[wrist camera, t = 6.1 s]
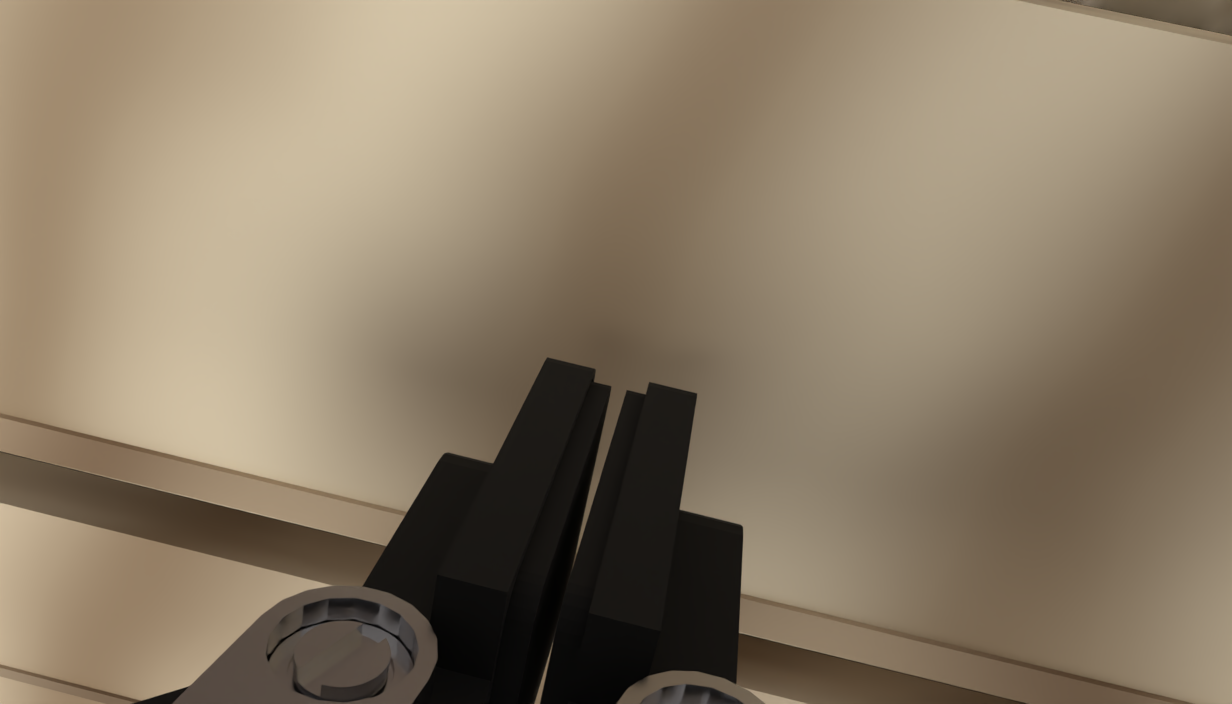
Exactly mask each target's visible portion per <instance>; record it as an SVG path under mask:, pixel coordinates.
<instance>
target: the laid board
mask: <svg viewBox="0 0 1232 704" xmlns="http://www.w3.org/2000/svg"><path fill="white" fill-rule="evenodd" d="M385 548H386V547H385V546H380V545H376V544H372V543H368V542H364V541H360V540H356V539H352V538H348V537H344V536H340V535H336V534H332V533H328V532H324V531H319V530H315V529H311V528H307V527H303V526H299V525H295V524H291V523H287V522H283V521H279V520H275V519H271V518H267V517H262V516H258V515H254V514H250V513H246V512H242V511H238V510H234V509H230V508H226V507H222V506H218V505H214V504H210V503H205V502H201V501H197V500H193V499H189V498H185V497H181V496H177V495H173V494H169V493H165V492H161V491H157V490H153V489H148V488H144V487H140V486H136V485H132V484H128V483H124V482H120V481H116V480H112V479H108V478H104V477H100V476H96V475H91V474H87V473H83V472H79V471H75V470H71V469H67V468H63V467H59V466H55V465H51V464H47V463H43V462H39V461H35V460H30V459H26V458H22V457H18V456H14V455H10V454H6V453H2V452H0V704H132V703H136V702H139V701H142V700H146V699H149V698H152V697H155V696H159V695H162V694H165V693H169V692H172V691H175V690H178V689H182V688H185V687H188V686H190V685H191V684H192V683H193V682H194V681H195V680H196V679H197V678H198V677H199V676H200V675H201V674H202V673H203V672H204V671H205V670H206V669H207V668H209V667H210V666H211V665H212V664H213V663H214V662H215V661H216V660H217V659H218V658H219V657H220V656H221V655H222V654H223V653H224V652H225V651H226V650H227V649H228V648H229V647H230V646H231V645H232V644H233V643H234V642H235V641H236V640H237V639H238V638H239V637H240V636H241V635H242V634H243V633H244V632H245V631H246V630H247V629H248V628H249V627H250V626H251V625H252V624H253V623H254V622H255V621H256V620H257V619H258V618H259V617H260V616H261V615H262V614H264V613H265V612H266V611H268V610H269V609H270V608H272V607H273V606H275V605H276V604H277V603H279V602H280V601H281V600H283V599H286V598H288V597H291V596H293V595H296V594H298V593H301V592H303V591H306V590H310V589H316V588H322V587H328V586H335V585H338V586H363V584H364V583H365V581H366V579H367V578H368V576H369V574H370V573H371V571H372V569H373V568H374V566H375V564H376V563H377V561H378V560H379V558H380V556H381V555H382V553H383V551H384V550H385ZM553 641H554V640H553ZM552 645H553V644H552ZM551 650H552V647H551ZM551 650H550V654H551ZM550 654H549V657H548V660H547V664H546V667H545V670H544V674H543V677H542V680H541V684H540V687H539V690H538V694H537V697H536V700H535V704H540V701H541V696H542V691H543V687H544V682H545V678H546V673H547V668H548V664H549V659H550ZM736 685H738V686H740V687H742V688H744V689H746V690H748V691H750V692H751V693H753V694H754V695H755V696H756V697H758V698H759V699H760V700H761V701H763V702H764V703H765V704H1024V703H1020V702H1015V701H1011V700H1007V699H1003V698H999V697H995V696H991V695H987V694H983V693H979V692H975V691H971V690H967V689H963V688H958V687H954V686H950V685H946V684H942V683H938V682H934V681H930V680H926V679H922V678H918V677H914V676H910V675H906V674H902V673H897V672H893V671H889V670H885V669H881V668H877V667H873V666H869V665H865V664H861V663H857V662H853V661H849V660H845V659H840V658H836V657H832V656H828V655H824V654H820V653H816V652H812V651H808V650H804V649H800V648H796V647H792V646H788V645H783V644H779V643H775V642H771V641H767V640H763V639H759V638H755V637H751V636H747V635H743V634H739V640H738V662H737V683H736Z"/></svg>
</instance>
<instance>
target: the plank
mask: <svg viewBox="0 0 1232 704" xmlns="http://www.w3.org/2000/svg"><path fill="white" fill-rule="evenodd" d="M547 357H548V358H552V359H557V360H561V361H565V362H569V363H573V364H577V365H582V366H586V367H590V368H594V369H596V373H595V380H594V382H596V383H600V384H605V385H609V386H611V393H610V398H609V403H608V407H607V412H606V417H605V421H604V426H603V430H602V435H601V440H600V444H599V449H598V453H597V458H596V462H595V467H594V472H593V476H592V481H591V485H590V490H589V495H588V499H587V504H586V508H585V513H584V518H583V522H582V527H581V531H580V536H579V540H578V545H577V550H576V554H575V559H576V556H577V552H578V549H579V546H580V542H581V539H582V536H583V532H584V529H585V526H586V523H587V519H588V516H589V513H590V509H591V506H592V503H593V500H594V496H595V493H596V490H597V486H598V483H599V480H600V476H601V473H602V470H603V467H604V463H605V460H606V457H607V453H608V450H609V447H610V443H611V440H612V437H613V434H614V430H615V427H616V424H617V420H618V417H619V414H620V411H621V407H622V404H623V401H624V397H625V394H626V391H627V390H629V391H634V392H638V393H642V394H646V392H647V388H648V384H649V382H652V383H656V384H660V385H665V386H669V387H673V388H677V389H681V390H685V391H689V392H694V393H697V400H696V406H695V413H694V419H693V426H692V432H691V439H690V445H689V452H688V458H687V465H686V471H685V478H684V484H683V491H682V497H681V504H680V510H684V511H688V512H692V513H696V514H700V515H704V516H708V517H712V518H716V519H720V520H724V521H728V522H732V523H736V524H740V525H742V526H743V553H742V575H741V597H740V618H739V633H743V634H747V635H751V636H755V637H759V638H763V639H767V640H771V641H775V642H779V643H783V644H787V645H791V646H795V647H800V648H804V649H808V650H812V651H816V652H820V653H824V654H828V655H832V656H836V657H840V658H844V659H848V660H852V661H857V662H861V663H865V664H869V665H873V666H877V667H881V668H885V669H889V670H893V671H897V672H901V673H905V674H909V675H914V676H918V677H922V678H926V679H930V680H934V681H938V682H942V683H946V684H950V685H954V686H958V687H962V688H966V689H971V690H975V691H979V692H983V693H987V694H991V695H995V696H999V697H1003V698H1007V699H1011V700H1015V701H1019V702H1023V703H1028V704H1232V36H1230V35H1225V34H1220V33H1215V32H1211V31H1206V30H1201V29H1196V28H1191V27H1186V26H1181V25H1177V24H1172V23H1167V22H1162V21H1157V20H1152V19H1148V18H1143V17H1138V16H1133V15H1128V14H1123V13H1118V12H1114V11H1109V10H1104V9H1099V8H1094V7H1089V6H1084V5H1080V4H1075V3H1070V2H1065V1H1060V0H0V451H2V452H6V453H10V454H14V455H18V456H22V457H26V458H30V459H34V460H38V461H42V462H46V463H50V464H55V465H59V466H63V467H67V468H71V469H75V470H79V471H83V472H87V473H91V474H95V475H99V476H103V477H107V478H112V479H116V480H120V481H124V482H128V483H132V484H136V485H140V486H144V487H148V488H152V489H156V490H160V491H164V492H169V493H173V494H177V495H181V496H185V497H189V498H193V499H197V500H201V501H205V502H209V503H213V504H217V505H221V506H226V507H230V508H234V509H238V510H242V511H246V512H250V513H254V514H258V515H262V516H266V517H270V518H274V519H278V520H283V521H287V522H291V523H295V524H299V525H303V526H307V527H311V528H315V529H319V530H323V531H327V532H331V533H335V534H340V535H344V536H348V537H352V538H356V539H360V540H364V541H368V542H372V543H376V544H380V545H384V546H387V545H388V543H389V541H390V540H391V538H392V536H393V535H394V533H395V531H396V530H397V528H398V527H399V525H400V523H401V522H402V520H403V518H404V517H405V515H406V513H407V512H408V510H409V508H410V507H411V505H412V503H413V502H414V500H415V499H416V497H417V495H418V494H419V492H420V490H421V489H422V487H423V485H424V484H425V482H426V480H427V479H428V477H429V475H430V474H431V472H432V470H433V469H434V467H435V466H436V464H437V462H438V461H439V459H440V458H441V457H442V455H443V454H444V453H447V452H449V453H453V454H457V455H461V456H465V457H469V458H473V459H477V460H481V461H485V462H489V463H494V461H495V459H496V457H497V455H498V453H499V451H500V449H501V447H502V445H503V443H504V441H505V439H506V437H507V435H508V433H509V431H510V429H511V427H512V425H513V423H514V421H515V419H516V417H517V415H518V413H519V411H520V409H521V407H522V405H523V403H524V401H525V399H526V397H527V395H528V393H529V391H530V389H531V387H532V385H533V384H534V382H535V380H536V378H537V376H538V374H539V372H540V370H541V368H542V366H543V364H544V362H545V360H546V358H547ZM575 559H574V562H575ZM573 565H574V563H573ZM572 569H573V568H572Z"/></svg>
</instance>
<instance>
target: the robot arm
mask: <svg viewBox="0 0 1232 704" xmlns="http://www.w3.org/2000/svg"><path fill="white" fill-rule="evenodd" d="M595 373H596V369H594V368H590V367H586V366H582V365H577V364H573V363H569V362H565V361H561V360H557V359H552V358H548V357H547V358H546V360H545V362H544V364H543V366H542V368H541V370H540V372H539V374H538V376H537V378H536V380H535V382H534V384H533V385H532V387H531V389H530V391H529V393H528V395H527V397H526V399H525V401H524V403H523V405H522V407H521V409H520V411H519V413H518V415H517V417H516V419H515V421H514V423H513V425H512V427H511V429H510V431H509V433H508V435H507V437H506V439H505V441H504V443H503V445H502V447H501V449H500V451H499V453H498V455H497V457H496V459H495V461H494V463H489V462H485V461H481V460H477V459H473V458H469V457H465V456H461V455H457V454H453V453H449V452H447V453H444V454H443V455H442V457H441V458H440V459H439V461H438V462H437V464H436V466H435V467H434V469H433V470H432V472H431V474H430V475H429V477H428V479H427V480H426V482H425V484H424V485H423V487H422V489H421V490H420V492H419V494H418V495H417V497H416V499H415V500H414V502H413V503H412V505H411V507H410V508H409V510H408V512H407V513H406V515H405V517H404V518H403V520H402V522H401V523H400V525H399V527H398V528H397V530H396V531H395V533H394V535H393V536H392V538H391V540H390V541H389V543H388V545H387V546H386V548H385V550H384V551H383V553H382V555H381V556H380V558H379V560H378V561H377V563H376V564H375V566H374V568H373V569H372V571H371V573H370V574H369V576H368V578H367V579H366V581H365V583H364V584H363V586H338V585H335V586H328V587H322V588H316V589H310V590H306V591H303V592H301V593H298V594H296V595H293V596H291V597H288V598H286V599H283V600H281V601H280V602H279V603H277V604H276V605H275V606H273V607H272V608H270V609H269V610H268V611H266V612H265V613H264V614H262V615H261V616H260V617H259V618H258V619H257V620H256V621H255V622H254V623H253V624H252V625H251V626H250V627H249V628H248V629H247V630H246V631H245V632H244V633H243V634H242V635H241V636H240V637H239V638H238V639H237V640H236V641H235V642H234V643H233V644H232V645H231V646H230V647H229V648H228V649H227V650H226V651H225V652H224V653H223V654H222V655H221V656H220V657H219V658H218V659H217V660H216V661H215V662H214V663H213V664H212V665H211V666H210V667H209V668H207V669H206V670H205V671H204V672H203V673H202V674H201V675H200V676H199V677H198V678H197V679H196V680H195V681H194V682H193V683H192V684H191V685H190V686H188V687H185V688H182V689H178V690H175V691H172V692H169V693H165V694H162V695H159V696H155V697H152V698H149V699H146V700H142V701H139V702H136V703H132V704H535V700H536V697H537V694H538V690H539V687H540V684H541V680H542V677H543V674H544V670H545V667H546V664H547V660H548V657H549V654H550V650H551V647H552V650H551V654H550V659H549V664H548V668H547V673H546V678H545V682H544V687H543V691H542V696H541V701H540V704H765V703H764V702H763V701H761V700H760V699H759V698H758V697H756V696H755V695H754V694H753V693H751V692H750V691H748V690H746V689H744V688H742V687H740V686H738V685H736V683H737V662H738V640H739V618H740V597H741V575H742V553H743V526H742V525H740V524H736V523H732V522H728V521H724V520H720V519H716V518H712V517H708V516H704V515H700V514H696V513H692V512H688V511H684V510H680V504H681V497H682V491H683V484H684V478H685V471H686V465H687V458H688V452H689V445H690V439H691V432H692V426H693V419H694V413H695V406H696V400H697V393H694V392H689V391H685V390H681V389H677V388H673V387H669V386H665V385H660V384H656V383H652V382H649V384H648V388H647V392H646V394H642V393H638V392H634V391H629V390H627V391H626V394H625V397H624V401H623V404H622V407H621V411H620V414H619V417H618V420H617V424H616V427H615V430H614V434H613V437H612V440H611V443H610V447H609V450H608V453H607V457H606V460H605V463H604V467H603V470H602V473H601V476H600V480H599V483H598V486H597V490H596V493H595V496H594V500H593V503H592V506H591V509H590V513H589V516H588V519H587V523H586V526H585V529H584V532H583V536H582V539H581V542H580V546H579V549H578V552H577V556H576V559H575V554H576V550H577V545H578V540H579V536H580V531H581V527H582V522H583V518H584V513H585V508H586V504H587V499H588V495H589V490H590V485H591V481H592V476H593V472H594V467H595V462H596V458H597V453H598V449H599V444H600V440H601V435H602V430H603V426H604V421H605V417H606V412H607V407H608V403H609V398H610V393H611V386H609V385H605V384H600V383H596V382H594V380H595ZM574 559H575V562H574ZM573 563H574V565H573ZM572 568H573V569H572ZM553 640H554V641H553ZM552 644H553V645H552Z"/></svg>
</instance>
